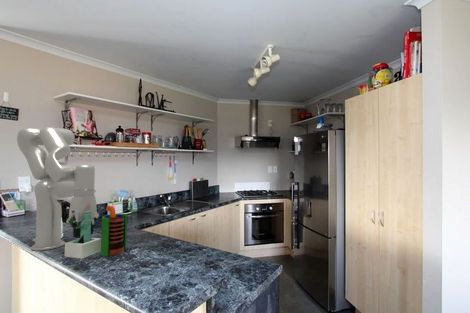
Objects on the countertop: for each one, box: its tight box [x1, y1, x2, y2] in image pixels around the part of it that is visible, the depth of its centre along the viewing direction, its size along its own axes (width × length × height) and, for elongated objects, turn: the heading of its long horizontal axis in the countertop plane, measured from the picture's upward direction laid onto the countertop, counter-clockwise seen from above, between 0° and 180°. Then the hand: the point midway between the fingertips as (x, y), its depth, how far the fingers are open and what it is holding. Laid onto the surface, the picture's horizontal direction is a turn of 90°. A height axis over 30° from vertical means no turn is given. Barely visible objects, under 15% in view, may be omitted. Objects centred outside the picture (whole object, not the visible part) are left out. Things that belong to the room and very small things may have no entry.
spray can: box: [75, 209, 92, 244], centre depth 106 cm, size 6×6×20 cm
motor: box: [100, 205, 128, 257], centre depth 107 cm, size 10×9×20 cm
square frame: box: [64, 237, 101, 259], centre depth 105 cm, size 9×9×6 cm
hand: (83, 235), depth 105 cm, fingers closed on spray can, 5 cm apart
